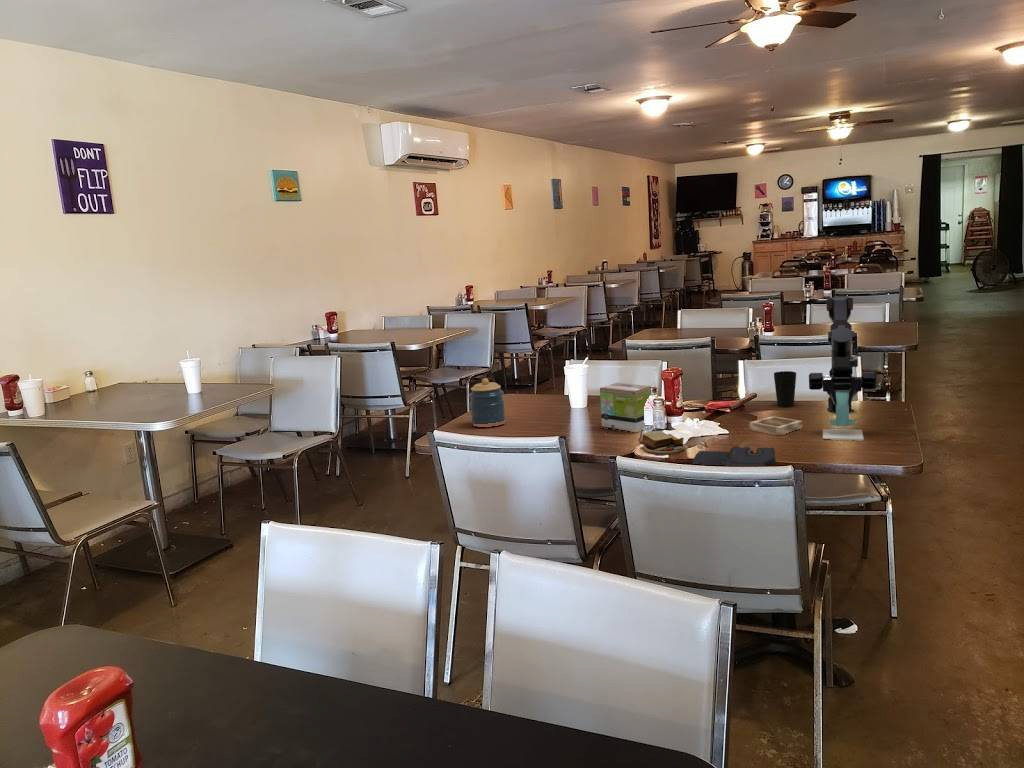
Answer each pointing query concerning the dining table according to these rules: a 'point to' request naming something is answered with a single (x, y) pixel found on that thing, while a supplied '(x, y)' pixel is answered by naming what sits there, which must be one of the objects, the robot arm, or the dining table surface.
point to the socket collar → (784, 426)
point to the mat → (843, 434)
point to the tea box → (624, 405)
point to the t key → (842, 410)
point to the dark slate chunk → (737, 457)
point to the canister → (487, 403)
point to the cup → (785, 388)
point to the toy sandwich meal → (661, 443)
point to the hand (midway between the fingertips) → (842, 404)
